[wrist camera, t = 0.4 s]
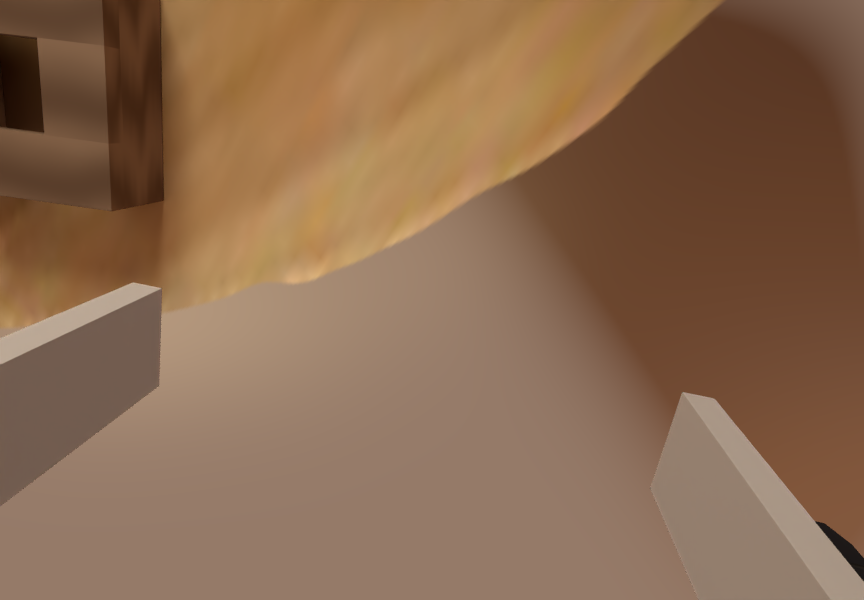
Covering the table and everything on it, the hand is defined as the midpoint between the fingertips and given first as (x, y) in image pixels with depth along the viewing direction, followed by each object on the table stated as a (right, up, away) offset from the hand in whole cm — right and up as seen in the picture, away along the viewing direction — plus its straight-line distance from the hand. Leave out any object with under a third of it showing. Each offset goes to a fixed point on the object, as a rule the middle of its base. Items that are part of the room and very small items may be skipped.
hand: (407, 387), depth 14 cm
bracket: (-25, +17, +26) cm, 40 cm away
